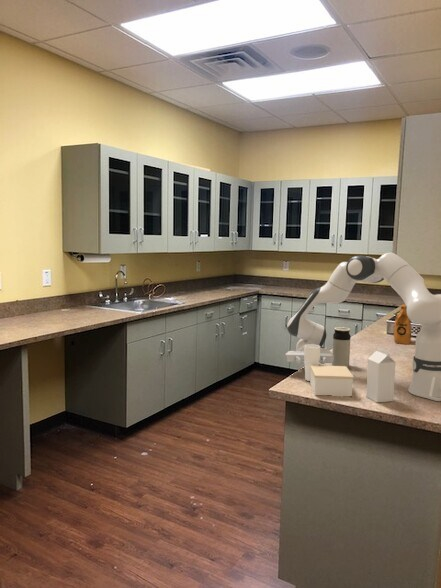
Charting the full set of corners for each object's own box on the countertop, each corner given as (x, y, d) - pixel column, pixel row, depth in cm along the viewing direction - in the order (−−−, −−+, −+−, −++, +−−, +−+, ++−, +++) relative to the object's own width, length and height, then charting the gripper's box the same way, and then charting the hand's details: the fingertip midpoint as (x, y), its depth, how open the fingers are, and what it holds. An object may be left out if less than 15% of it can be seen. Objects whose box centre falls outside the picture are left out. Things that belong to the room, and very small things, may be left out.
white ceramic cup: (317, 377, 202) (318, 344, 200) (320, 382, 195) (322, 347, 193) (301, 377, 202) (302, 343, 200) (304, 382, 195) (306, 347, 193)
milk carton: (376, 403, 172) (379, 352, 169) (365, 396, 178) (368, 348, 176) (393, 401, 174) (396, 351, 171) (382, 395, 180) (384, 347, 178)
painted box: (345, 385, 192) (346, 366, 191) (352, 397, 178) (353, 376, 177) (309, 383, 193) (310, 365, 192) (314, 395, 179) (315, 375, 178)
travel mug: (349, 368, 217) (351, 330, 215) (332, 367, 219) (333, 329, 217) (348, 363, 225) (350, 327, 223) (331, 362, 227) (333, 326, 224)
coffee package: (391, 343, 271) (393, 306, 268) (393, 339, 282) (395, 303, 280) (409, 345, 267) (412, 307, 264) (411, 341, 278) (413, 304, 275)
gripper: (285, 346, 212) (287, 353, 199) (330, 347, 211) (336, 355, 197) (284, 359, 213) (287, 368, 199) (330, 361, 212) (335, 369, 198)
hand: (311, 361), depth 198 cm, fingers open, 8 cm apart
